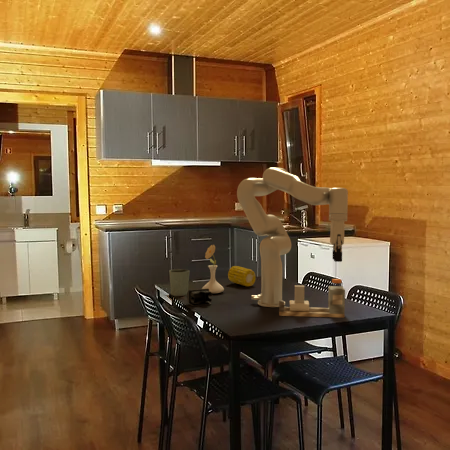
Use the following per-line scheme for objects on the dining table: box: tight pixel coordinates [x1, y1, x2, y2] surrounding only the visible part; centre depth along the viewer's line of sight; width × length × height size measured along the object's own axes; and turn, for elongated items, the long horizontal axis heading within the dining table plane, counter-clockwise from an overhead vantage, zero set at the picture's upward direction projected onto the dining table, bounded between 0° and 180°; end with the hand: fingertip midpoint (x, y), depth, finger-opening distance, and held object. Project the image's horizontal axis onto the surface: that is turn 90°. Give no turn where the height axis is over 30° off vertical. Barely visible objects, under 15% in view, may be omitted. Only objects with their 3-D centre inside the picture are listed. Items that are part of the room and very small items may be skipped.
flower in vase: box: [201, 244, 225, 294], centre depth 261 cm, size 13×11×25 cm
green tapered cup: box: [168, 268, 191, 297], centre depth 258 cm, size 10×10×12 cm
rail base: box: [278, 285, 346, 318], centre depth 218 cm, size 27×8×12 cm, turn 84°
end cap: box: [186, 288, 213, 307], centre depth 237 cm, size 10×7×7 cm
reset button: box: [331, 278, 343, 284], centre depth 217 cm, size 4×4×1 cm
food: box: [227, 265, 257, 288], centre depth 283 cm, size 15×12×10 cm
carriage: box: [289, 284, 310, 311], centre depth 219 cm, size 8×7×10 cm
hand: (337, 260), depth 216 cm, fingers open, 5 cm apart
